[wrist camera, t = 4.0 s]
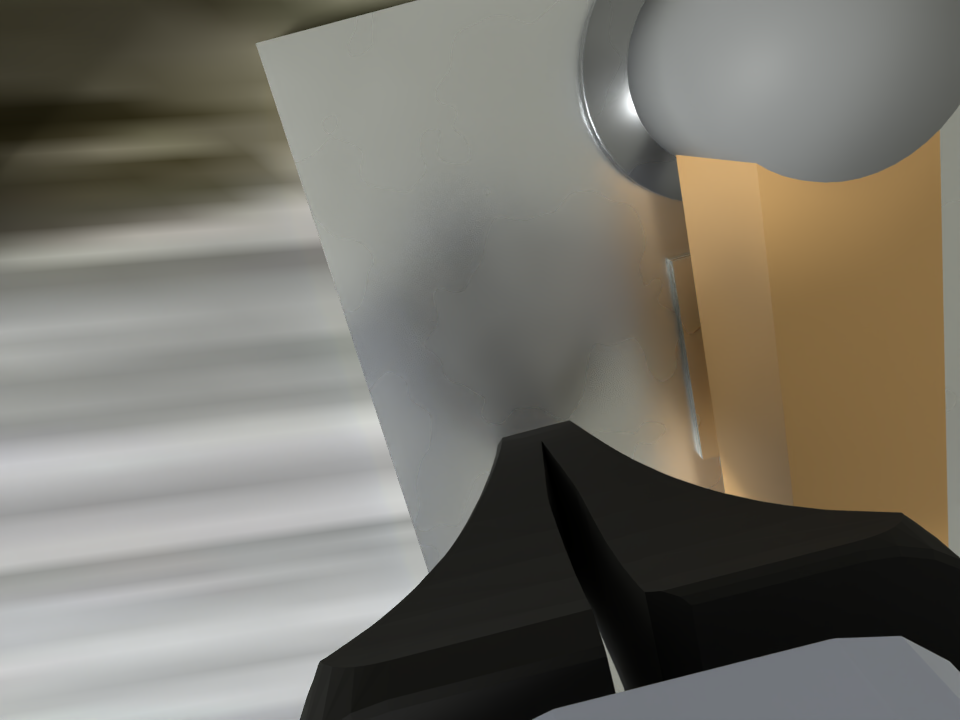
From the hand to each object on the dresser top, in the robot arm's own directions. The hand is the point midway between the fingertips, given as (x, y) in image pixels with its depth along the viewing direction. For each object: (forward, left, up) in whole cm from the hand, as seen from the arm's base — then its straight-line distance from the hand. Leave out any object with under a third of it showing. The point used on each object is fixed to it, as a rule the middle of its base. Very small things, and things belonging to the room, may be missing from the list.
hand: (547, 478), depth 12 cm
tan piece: (0, -4, 0) cm, 4 cm away
